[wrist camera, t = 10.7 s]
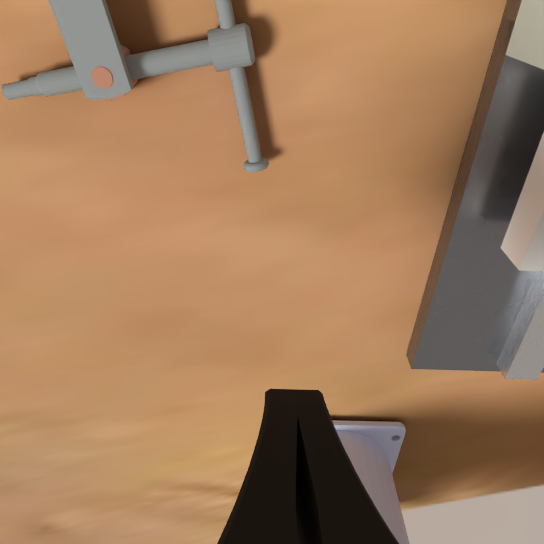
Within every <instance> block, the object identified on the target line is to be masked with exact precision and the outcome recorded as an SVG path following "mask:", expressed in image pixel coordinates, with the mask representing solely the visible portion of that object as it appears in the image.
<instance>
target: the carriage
mask: <svg viewBox="0 0 544 544" xmlns="http://www.w3.org/2000/svg"><path fill="white" fill-rule="evenodd" d="M501 249H502V250H503V252H504V253H505V254H506V255H507V257H508V258H509V259H510V260H511V261H512V263H513V264H514V265H515V266H516V267H517V269H518V270H520V271H544V132H543V135H542V138H541V140H540V143H539V146H538V148H537V151H536V154H535V156H534V159H533V162H532V164H531V167H530V170H529V173H528V175H527V178H526V181H525V183H524V186H523V189H522V191H521V194H520V197H519V199H518V202H517V205H516V208H515V210H514V213H513V216H512V218H511V221H510V224H509V226H508V229H507V232H506V234H505V237H504V240H503V242H502V245H501Z"/></svg>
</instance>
